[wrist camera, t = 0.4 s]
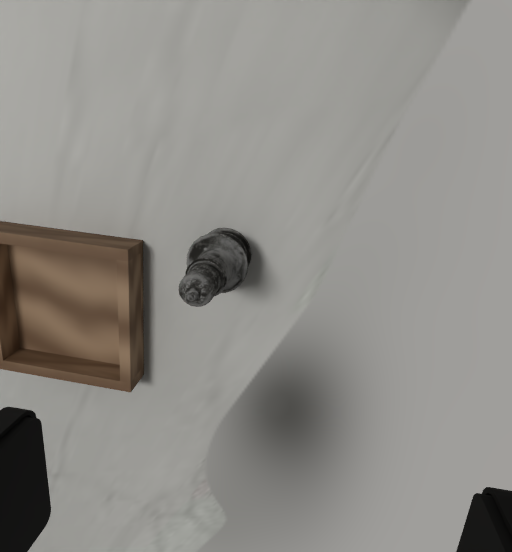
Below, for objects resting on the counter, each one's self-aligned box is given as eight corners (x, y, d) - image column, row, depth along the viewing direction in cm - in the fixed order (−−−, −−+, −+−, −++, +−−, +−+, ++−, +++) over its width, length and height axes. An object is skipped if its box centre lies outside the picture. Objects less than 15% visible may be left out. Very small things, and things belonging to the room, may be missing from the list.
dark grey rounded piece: (254, 281, 43) (228, 336, 32) (199, 279, 44) (155, 331, 33) (253, 225, 41) (226, 263, 30) (195, 224, 42) (148, 259, 31)
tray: (-2, 221, 46) (-27, 228, 42) (142, 240, 44) (127, 249, 40) (15, 352, 51) (-6, 367, 48) (143, 374, 49) (130, 392, 46)
